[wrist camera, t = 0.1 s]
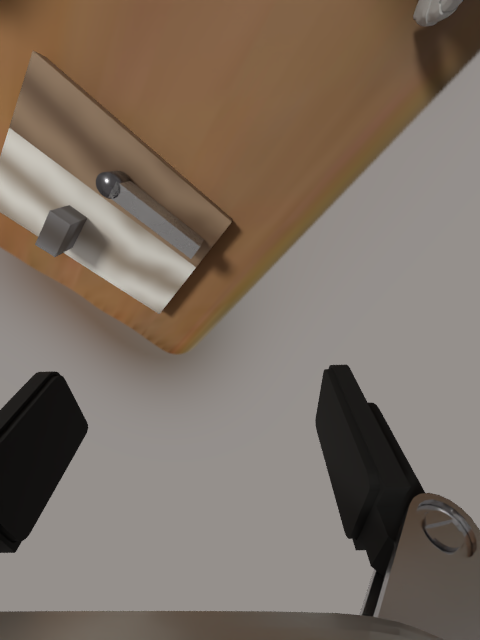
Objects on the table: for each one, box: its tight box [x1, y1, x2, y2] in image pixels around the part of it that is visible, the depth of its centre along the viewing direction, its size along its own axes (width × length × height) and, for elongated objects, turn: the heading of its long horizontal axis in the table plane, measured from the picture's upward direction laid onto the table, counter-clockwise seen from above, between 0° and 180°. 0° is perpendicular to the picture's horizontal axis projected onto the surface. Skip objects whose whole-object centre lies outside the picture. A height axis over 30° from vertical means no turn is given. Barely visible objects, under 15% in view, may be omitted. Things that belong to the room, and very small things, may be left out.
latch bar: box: [96, 171, 204, 259], centre depth 32 cm, size 13×3×4 cm, turn 50°
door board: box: [0, 51, 232, 314], centre depth 33 cm, size 18×25×6 cm
